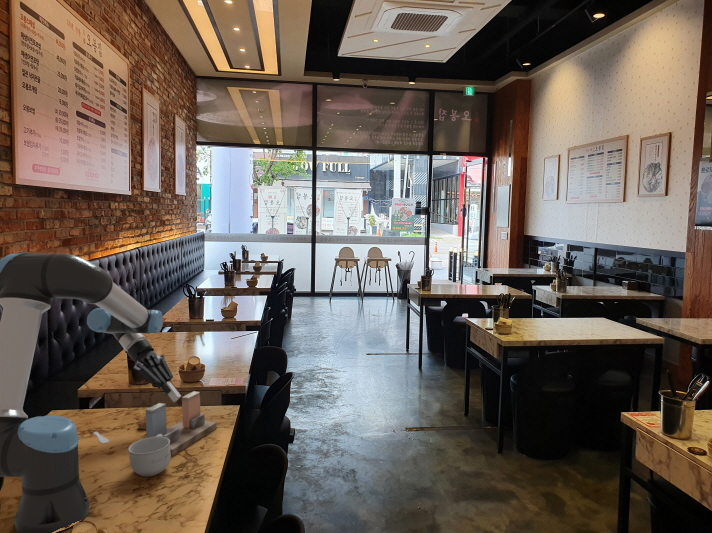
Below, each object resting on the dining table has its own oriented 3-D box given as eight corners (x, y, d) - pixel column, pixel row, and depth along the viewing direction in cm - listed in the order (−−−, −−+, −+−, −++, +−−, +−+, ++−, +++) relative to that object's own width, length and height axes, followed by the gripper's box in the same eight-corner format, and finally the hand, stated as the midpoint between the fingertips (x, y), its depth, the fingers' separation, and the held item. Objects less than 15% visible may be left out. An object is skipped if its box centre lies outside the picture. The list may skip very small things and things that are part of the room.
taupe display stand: (172, 456, 157) (172, 440, 157) (140, 450, 161) (139, 434, 161) (216, 428, 178) (216, 413, 177) (186, 423, 182) (186, 409, 181)
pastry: (148, 432, 175) (148, 421, 175) (132, 429, 177) (132, 418, 177) (168, 421, 184) (167, 411, 183) (152, 419, 186) (151, 408, 186)
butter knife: (100, 444, 165) (110, 441, 167) (78, 421, 183) (87, 419, 185) (101, 445, 165) (110, 442, 167) (78, 423, 183) (87, 420, 185)
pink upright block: (189, 427, 172) (188, 397, 171) (182, 426, 173) (181, 397, 172) (200, 421, 178) (199, 392, 177) (194, 420, 179) (193, 391, 178)
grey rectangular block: (153, 442, 161) (152, 410, 160) (146, 441, 162) (145, 409, 161) (166, 434, 167) (165, 404, 166) (160, 433, 168) (159, 403, 167)
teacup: (157, 482, 142) (156, 454, 141) (120, 478, 144) (119, 450, 143) (184, 459, 155) (183, 432, 155) (150, 455, 158) (149, 429, 157)
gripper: (144, 347, 189) (183, 399, 184) (115, 356, 177) (157, 412, 172) (155, 334, 186) (196, 386, 182) (127, 342, 174) (170, 398, 170)
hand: (177, 399), depth 177 cm, fingers closed
